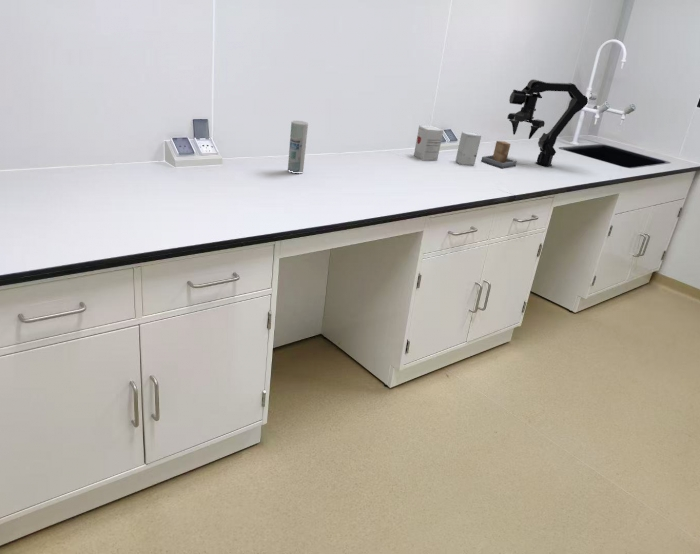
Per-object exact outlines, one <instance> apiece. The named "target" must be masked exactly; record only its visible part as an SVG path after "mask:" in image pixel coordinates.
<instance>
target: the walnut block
mask: <svg viewBox="0 0 700 554" xmlns="http://www.w3.org/2000/svg"><path fill="white" fill-rule="evenodd" d="M510 148H511V143H510V142H507V141H503V140H501V141H500V140H496V143H495V145H494V149H493V150H494V151H493V153H492V154H493V158H492V160H495V161H498V162H501V163H506V160H507V159H508V156H509V151H510Z"/></svg>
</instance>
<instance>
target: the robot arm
mask: <svg viewBox="0 0 700 554" xmlns="http://www.w3.org/2000/svg"><path fill="white" fill-rule="evenodd" d="M544 92H564V93H565V92H567V93H568V96H569V97H570V98H571V99H570V101H569V104H568V106H567V107H568V108H567V109H566V110H565V111H564V112H563V113H562V115H561V117H559V119H558V120H557V122H556V123H555V124H554V126H553V127H552V128H551V129H550V130H549V131H548V132H547V133H545V132H543V133H542V135H541V136H540V137H539V138H538V142H537V144H538V145H537V146H538V148H539V154H538V156H537V160H536V162H535V164H536V165H541V166H543V167H551V166H553V164H552V161H553V158H554V156H555V155H556V153H557V151H556V150H555V148H554V146H555V144H556V142H557V139H558V137H559V135H560V134H561V132H562V131H563V130H564V129H565V127H566V126H567V125H568V123H569V122H570V121H571V120H572V119H573V118H574V116H575V115H576V114H577V113H579V112H580V111H582V110H583V109H584V108H585V107H586V106H587V105H588V103H589V99H588V97H587V95H583V93H582V92H581V91H580V90H579V89H578V87H577V86H576V84H574V83H571V82H567V83H565V82H547V81H546V82H545V81H541V80H538V79H530V80H529V81H528V82H527V85H526V86H525V87H524V88H523V89H522V90H518V89H512V91H511V94H510V96H509V104H512V105H519V106H520V105H521V108H520V110H518V111H517V112H509V113H508V115H507V120H508V121H509V122H510V123H511V125H512V134H513V136H514V135H516V134H517V131H518V127H519V123H522V122H525V123H528V124H531V125H530V132H529V135H528V140H531V138H533V136H534V135H535V133H536V132H537V131H538V130H539V129H541V128H543V127H545V123H546V122H545V120H542V119H538V118H537V119H534V118H535V117H534V112H536V111H537V109H536V106H537V102H538V99H542V98H543V96H542V95H541V93H544ZM522 105H523V106H522Z"/></svg>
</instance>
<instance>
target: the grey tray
mask: <svg viewBox="0 0 700 554" xmlns="http://www.w3.org/2000/svg"><path fill="white" fill-rule="evenodd" d="M492 158H493V155H485V156H482V157H481V160H480V163H485V164H487V165H490V166H493V167H496V168H499V169H508V168H513V167H516V166H517V161H516V160H513V159H510V158H507V160H506V163H501V162H498V161H495V160H492Z"/></svg>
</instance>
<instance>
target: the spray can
mask: <svg viewBox="0 0 700 554" xmlns="http://www.w3.org/2000/svg"><path fill="white" fill-rule="evenodd" d="M308 127H309V123H308V122H306V121H303V120H292V121H291V125H290V136H289V137H290V139H289V151H288V162H287V171H288V170H290V171H293V172H303V173H304V167H305V155H306V148H307V137H308Z"/></svg>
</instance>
